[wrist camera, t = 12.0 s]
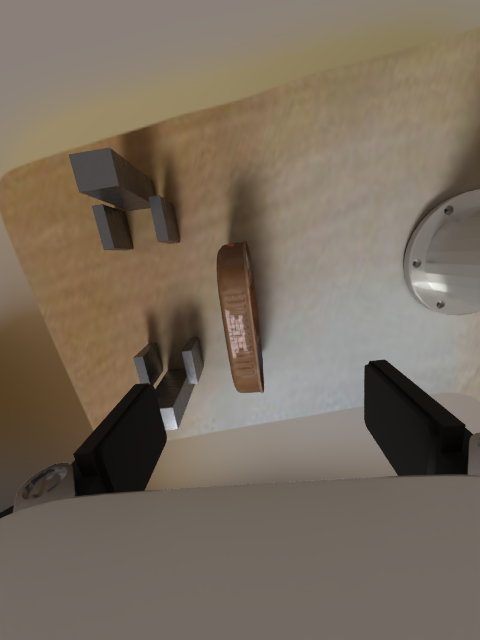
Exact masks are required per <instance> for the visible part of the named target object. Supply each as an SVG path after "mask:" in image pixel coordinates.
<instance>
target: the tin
mask: <svg viewBox="0 0 480 640" xmlns="http://www.w3.org/2000/svg"><path fill="white" fill-rule="evenodd" d="M217 281H218V291H219V299H220V305H221V311H222V319H223V325H224V331H225V337H226V344H227V350H228V356H229V361H230V367H231V373H232V378H233V382H234V385H235V388H236V390H237V391H238V392H240V393H252V392H261V393H263V392H264V377H263V358H262V348H261V340H260V331H259V322H258V313H257V305H256V296H255V287H254V279H253V272H252V264H251V258H250V253H249V248H248V244H247V241H244V242H241V243H235V244H227V245H224V246H222V247H221V248H220V250H219V251H218V255H217Z"/></svg>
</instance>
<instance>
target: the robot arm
mask: <svg viewBox="0 0 480 640" xmlns="http://www.w3.org/2000/svg"><path fill="white" fill-rule="evenodd" d="M404 275H405V280H406V283H407V286H408V289H409V290H410V292H411V294H412V295H413V297H414V298H415V299H416V300H417V301H418V302H419V303H420V304H422V305H423V306H425V307H426V308H428V309H431V310H433V311H436V312H439V313H443V314H447V315H467V314H472V313H476V312H479V311H480V189H477V190H473V191H469V192H465V193H462V194H459V195H456V196H453V197H451V198H449V199H448V200H446V201H444V202H442V203H441V204H439V205H438V206H437V207H435V208H434V209H433V210H432V211H430V212H429V213H428V214H427V215H426V217H425V218H424V219H423V220H422V221H421V222H420V223H419V225H418V226H417V228H416V229H415V231H414V232H413V234H412V236H411V239H410V241H409V243H408V246H407V249H406V253H405V258H404ZM364 420H365V424H366V427H367V429H368V430H369V431H370V433H371V435H372V436H373V438H374V439H375V441H376V442H377V444H378V445H379V447H380V448H381V450H382V451H383V453H384V455H385V456H386V458H387V459H388V461H389V462H390V464H391V465H392V467H393V468H394V470H395V471H396V473H397V475H398V476H388V477H371V478H370V477H369V478H350V479H334V480H333V479H332V480H314V481H296V482H279V483H264V484H263V483H262V484H245V485H229V486H212V487H196V488H180V489H164V490H149V491H144V490H145V488H146V486H147V484H148V482H149V479H150V477H151V475H152V473H153V470H154V468H155V466H156V464H157V461H158V459H159V457H160V455H161V453H162V450H163V448H164V446H165V444H166V440H167V435H166V430H165V427H164V423H163V419H162V415H161V411H160V407H159V404H158V400H157V396H156V392H155V389H154V387H153V386H151V385H150V384H149V383H143V384H135V385H134V386H133V387H132V388H131V389H130V391H129V392H128V393H127V394H126V395H125V396H124V397H123V399H122V400H121V401H120V402H119V403H118V404H117V405H116V406H115V408H114V409H113V410H112V411H111V412H110V413H109V414H108V416H107V417H106V418H105V419H104V420H103V421H102V422H101V423H100V425H99V426H98V427H97V428H96V429H95V430H94V431H93V433H92V434H91V435H90V436H89V437H88V438H87V439H86V440H85V442H84V443H83V444H82V445H81V446H80V447H79V448H78V450H77V451H76V452H75V453H74V454H73V455H74V457H75V461H74V462H73V463H72V464H69V463H57V464H54V465H51V466H49V467H47V468H45V469H43V470H41V471H39V472H38V473H36V474H35V475H34V476H32V477H31V478H30V479H29V480H27V481H26V482H25V483H24V484H23V485H22V487H21V488H20V489H19V491H18V492H17V495H16V497H15V502H14V505H13V506H11V507H10V508H8V509H6V510H4V511H3V512H1V513H0V640H480V433H476V434H474V435H473V434H472V433H471V432H470V431H469V430H467V429H466V428H465V424H464V423H462V422H461V421H460V420H459V419H457V418H456V417H455V416H454V415H453V414H451V413H450V412H449V411H448V410H446V409H445V408H444V407H443V406H441V405H440V404H439V403H438V402H437V401H435V400H434V399H433V398H431V397H430V396H429V395H428V394H427V393H425V392H424V391H423V390H422V389H421V388H419V387H418V386H417V385H416V384H414V383H413V382H412V381H411V380H410V379H408V378H407V377H406V376H405V375H403V374H402V373H401V372H400V371H398V370H397V369H396V368H395V367H394V366H392V365H391V364H390V363H389V362H387V361H386V360H376V361H370V362H369V364H368V365H365V379H364Z"/></svg>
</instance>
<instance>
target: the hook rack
mask: <svg viewBox="0 0 480 640" xmlns="http://www.w3.org/2000/svg"><path fill="white" fill-rule="evenodd" d="M69 158H70V161H71V165H72V168H73V172H74V175H75V179H76V182H77V186H78V189H79V192H80V193H83V194H86V195H88V196H91V197H94V198H97V199H99V200H102V201H105V202H107V203H110V204H113V205H115V206H118V207H121V208H123V209H126V210H129V211H133V210H139V209H146V208H151V211H152V216H153V220H154V225H155V230H156V234H157V239H158V242H162V243H169V244H172V243H179V242H180V240H179V235H178V230H177V224H176V219H175V214H174V209H173V204H171V203H170V202H168V201H167V200H166V199H164V198H163V197H161V196H160V195H158V196H155V191H154V187H153V182H152V180H150V179H149V178H148V177H146V176H145V175H144V174H143V173H141V172H140V171H139V170H138V169H136V168H135V167H134V166H132V165H131V164H130V163H129V162H127V161H126V160H125V159H124V158H122V157H121V156H120V155H119V154H117V153H116V152H115V151H113V150H112V149H111V148H105V149H99V150H93V151H87V152H81V153H75V154H69ZM92 208H93V212H94V215H95V219H96V223H97V226H98V230H99V234H100V237H101V241H102V245H103V248H104V250H131V249H133V245H132V241H131V237H130V233H129V229H128V225H127V221H126V217H125V212H123V211H121V210H118V209H115V208H112V207H109V206H106V205H103V204H101V205H95V206H92ZM182 355H183V360H184V365H185V369H177V370H168V371H167V372H166V374H165V375H164V377H163V379H162V380H161V382H160V383H159V385H158V386H157V388H156V389H155V392H156V396H157V400H158V404H159V407H160V411H161V415H162V419H163V423H164V427H165V430H175V429H178V428H179V425H180V422H181V420H182V417H183V415H184V412H185V409H186V407H187V404H188V401H189V399H190V396H191V393H192V391H193V388H194V385H195V384H194V383H198V381H199V378H200V376H201V373H202V370H203V367H204V365H203V360H202V354H201V349H200V344H199V339H198V338H192V339H190V340H189V341H188V343H187V344H186V346H185V348H184V349H183V351H182ZM134 361H135V365H136V369H137V372H138V376H139V380H140V383H141V384H143V383H149V384H150V385H151V386H153V385H154V383H155V382H156V381H157V379H158V378H159V376H160V375H161V373H162V372H163V369H162V365H161V361H160V357H159V352H158V348H157V344H156V343H151V344H148V345H146V346H145V347H144V348H143V349H142V350H141V351H140V352H139V353H138V354H137V355H136V356H135V357H134Z"/></svg>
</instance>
